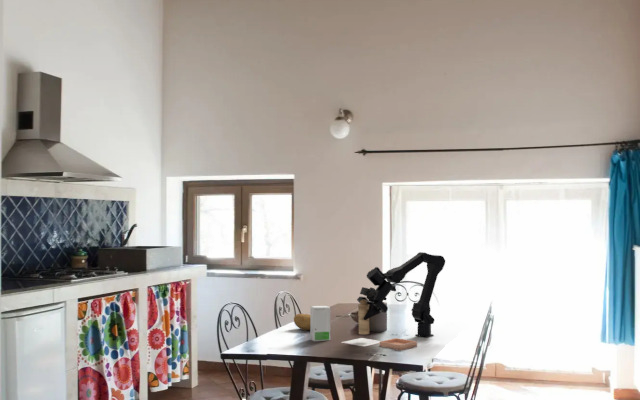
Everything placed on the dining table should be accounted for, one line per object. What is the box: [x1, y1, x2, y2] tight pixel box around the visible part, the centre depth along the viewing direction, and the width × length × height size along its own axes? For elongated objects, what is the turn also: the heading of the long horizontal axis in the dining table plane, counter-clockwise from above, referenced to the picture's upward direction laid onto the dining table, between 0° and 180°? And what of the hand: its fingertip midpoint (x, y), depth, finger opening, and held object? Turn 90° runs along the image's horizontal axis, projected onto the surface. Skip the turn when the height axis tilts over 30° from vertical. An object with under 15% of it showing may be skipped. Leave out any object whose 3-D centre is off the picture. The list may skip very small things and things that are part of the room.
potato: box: [293, 313, 311, 331], centre depth 327 cm, size 10×14×8 cm
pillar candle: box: [369, 301, 388, 333], centre depth 325 cm, size 10×10×15 cm
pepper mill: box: [357, 299, 370, 335], centre depth 293 cm, size 5×5×15 cm
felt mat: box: [341, 337, 382, 348], centre depth 292 cm, size 14×14×1 cm
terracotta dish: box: [379, 337, 418, 351], centre depth 283 cm, size 12×12×2 cm
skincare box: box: [309, 305, 331, 342], centre depth 300 cm, size 8×7×16 cm
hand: (361, 318), depth 292 cm, fingers closed on pepper mill, 5 cm apart
